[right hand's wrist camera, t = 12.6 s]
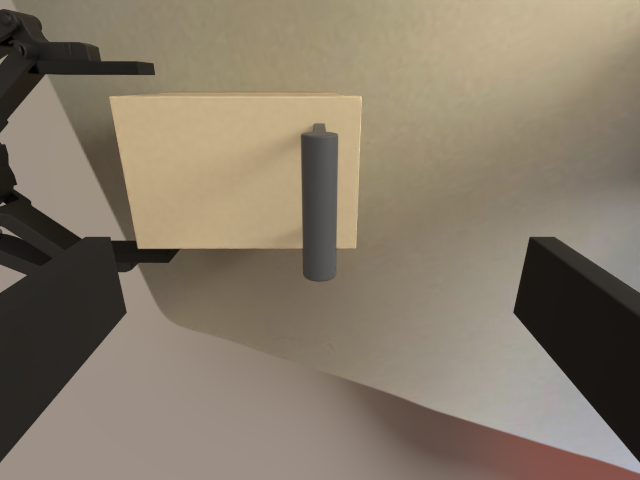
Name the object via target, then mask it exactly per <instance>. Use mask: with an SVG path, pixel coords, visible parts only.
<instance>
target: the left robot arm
mask: <svg viewBox="0 0 640 480" xmlns="http://www.w3.org/2000/svg"><path fill="white" fill-rule="evenodd" d="M41 30H42V25H41V23H40V21H39V20H38V19H37V18H36V17H35V16H32V15H28V14H23V13H19V12H15V11H10V10H6V9H2V10H0V59H1V58H3V57H4V56H6V55H7V54H8V56H7V57H6V58H5V59H4V61H3V62H2V63H1V64H0V132H1V131H2V130H3V129H4V128H5V127H6V125H7V124H8V121H7V119H8V118H9V117H10V115H11V114H12V113H13V112H14V111H15V109H16V108H17V107H18V106H19V105H20V104H21V102H22V101H23V100H24V99H25V98H26V96H27V95H28V94H29V93H30V92H31V91H32V89H33V88H34V87H35V86H36V85H37V84H38V82H39V81H40V80H41V79H42V78H43V77H44V75H45V74H60V75H155V71H154V64H153V63H145V62H132V61H101V59H100V53H99V48H98V47H96V46H93V45H91V44H86V43H80V42H49V41H48V40H47V39H46V38H45V37H44V35H43V34H42V32H41ZM14 185H17V183H16V179H15V176H14V174H13V172H12V170H11V168H10V167H9V163H8V152H7V149H6V145H5V144H1V143H0V204H1V203H2V202H4V203H5V204H6V205H3V206H0V226H2V227H4V228H6V229H8V230H9V231H11V232H12V233H14V234H15V235H17V236H19V237H20V238H22V239H23V240H22V239H20V238H17V237H15V236H11V235H7V234H2V230H1V229H0V264H1V265H3V266H6V267H8V268H11V269H13V270H16V271H18V272H21V273H23V274H26V275H29V274H30V273H32V272H33V271H35V270H36V269H38V268H39V267H41V266H42V265H44V264H45V263H47V262H48V261H50V260H51V259H53V258H54V257H56V256H57V255H59V254H61V253H62V252H64V251H65V250H67V249H68V248H70V247H71V246H73V245H74V244H76V243H77V242H79V241H80V240H82V239H81V238H80V237H78V236H76V235H75V234H74V233H72V232H70V231H69V230H67V229H66V228H64V227H63V226H61V225H60V224H58V223H57V222H55V221H54V220H52V219H51V218H49V217H48V216H46V215H45V214H43V213H42V212H40V211H39V210H37V209H36V208H34V207H33V206H32V205H31V201H30V200H29V199H28V198H26V197H25V196H23V195H22V194H20V193H19V192H17V191H16V190H14V189H13V187H14ZM111 243H112V247H113V252H114V257H115V261H116V266H117V270H118V272H127V271H130V270H132V269H133V268H134V267H135V266H136V265H137V264H138V263H169V262H170V260H171V259H172V258H173V257H174V256H175V255H176V253H177V252H178V251H179V250H180V249H138V247H137V242H136V241H111Z"/></svg>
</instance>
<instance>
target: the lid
mask: <svg viewBox="0 0 640 480" xmlns="http://www.w3.org/2000/svg"><path fill="white" fill-rule="evenodd" d="M109 100H110V105H111V111H112V116H113V121H114V126H115V132H116V137H117V142H118V147H119V153H120V158H121V163H122V168H123V174H124V179H125V184H126V189H127V194H128V200H129V205H130V210H131V215H132V221H133V226H134V231H135V236H136V242H137V247H138V249H303V275H304V277H305V278H307V279H309V280H312V281H319V282H320V281H328V280H331V279H332V278H334V277H335V275H336V249H355V248H356V237H357V211H358V184H359V158H360V132H361V105H362V97H361V96H110V97H109Z"/></svg>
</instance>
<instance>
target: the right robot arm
mask: <svg viewBox="0 0 640 480" xmlns="http://www.w3.org/2000/svg"><path fill="white" fill-rule="evenodd" d="M126 313H127V312H126V307H125V303H124V298H123V294H122V289H121V285H120V280H119V275H118V270H117V266H116V261H115V257H114V252H113V247H112V243H111V238H110V237H85V238H83V239H82V240H80V241H79V242H77V243H76V244H74V245H73V246H71V247H70V248H68V249H67V250H65V251H64V252H62V253H61V254H59V255H57V256H56V257H54V258H53V259H51V260H50V261H48V262H47V263H45V264H44V265H42V266H41V267H39V268H38V269H36V270H35V271H33V272H32V273H30V274H29V275H27V276H26V277H24V278H22V279H21V280H19V281H18V282H16V283H15V284H13V285H12V286H10V287H9V288H7V289H6V290H4V291H3V292H1V293H0V462H1V461H2V460H3V459H4V457H5V456H6V455H7V454H8V453H9V451H10V450H11V449H12V448H13V447H14V446H15V444H16V443H17V442H18V441H19V440H20V438H21V437H22V436H23V435H24V434H25V432H26V431H27V430H28V429H29V428H30V427H31V425H32V424H33V423H34V422H35V421H36V419H37V418H38V417H39V416H40V415H41V413H42V412H43V411H44V410H45V409H46V408H47V406H48V405H49V404H50V403H51V402H52V400H53V399H54V398H55V397H56V396H57V394H58V393H59V392H60V391H61V390H62V389H63V387H64V386H65V385H66V384H67V383H68V381H69V380H70V379H71V378H72V377H73V376H74V374H75V373H76V372H77V371H78V370H79V368H80V367H81V366H82V365H83V364H84V362H85V361H86V360H87V359H88V358H89V356H90V355H91V354H92V353H93V352H94V351H95V349H96V348H97V347H98V346H99V345H100V343H101V342H102V341H103V340H104V339H105V338H106V336H107V335H108V334H109V333H110V332H111V330H112V329H113V328H114V327H115V326H116V324H117V323H118V322H119V321H120V320H121V319H122V317H123V316H124V315H125V314H126ZM513 313H514V314H515V315H516V316H517V317H518V319H519V320H520V321H521V322H522V323H523V325H524V326H525V327H526V328H527V329H528V330H529V332H530V333H531V334H532V335H533V336H534V338H535V339H536V340H537V341H538V342H539V344H540V345H541V346H542V347H543V348H544V349H545V351H546V352H547V353H548V354H549V355H550V357H551V358H552V359H553V360H554V361H555V362H556V364H557V365H558V366H559V367H560V368H561V370H562V371H563V372H564V373H565V374H566V376H567V377H568V378H569V379H570V380H571V381H572V383H573V384H574V385H575V386H576V387H577V389H578V390H579V391H580V392H581V393H582V395H583V396H584V397H585V398H586V399H587V400H588V402H589V403H590V404H591V405H592V406H593V408H594V409H595V410H596V411H597V412H598V414H599V415H600V416H601V417H602V418H603V419H604V421H605V422H606V423H607V424H608V425H609V427H610V428H611V429H612V430H613V431H614V432H615V434H616V435H617V436H618V437H619V438H620V440H621V441H622V442H623V443H624V444H625V446H626V447H627V448H628V449H629V450H630V451H631V453H632V454H633V455H634V456H635V457H636V459H637V460H638V461H639V462H640V293H639V292H637V291H636V290H634V289H633V288H631V287H630V286H628V285H627V284H625V283H624V282H622V281H621V280H619V279H618V278H616V277H615V276H613V275H611V274H610V273H608V272H607V271H605V270H604V269H602V268H601V267H599V266H598V265H596V264H595V263H593V262H592V261H590V260H589V259H587V258H586V257H584V256H583V255H581V254H579V253H578V252H576V251H575V250H573V249H572V248H570V247H569V246H567V245H566V244H564V243H563V242H561V241H560V240H558V239H557V238H555V237H530V238H529V243H528V247H527V252H526V257H525V261H524V266H523V270H522V275H521V280H520V284H519V289H518V294H517V298H516V303H515V307H514V312H513Z"/></svg>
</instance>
